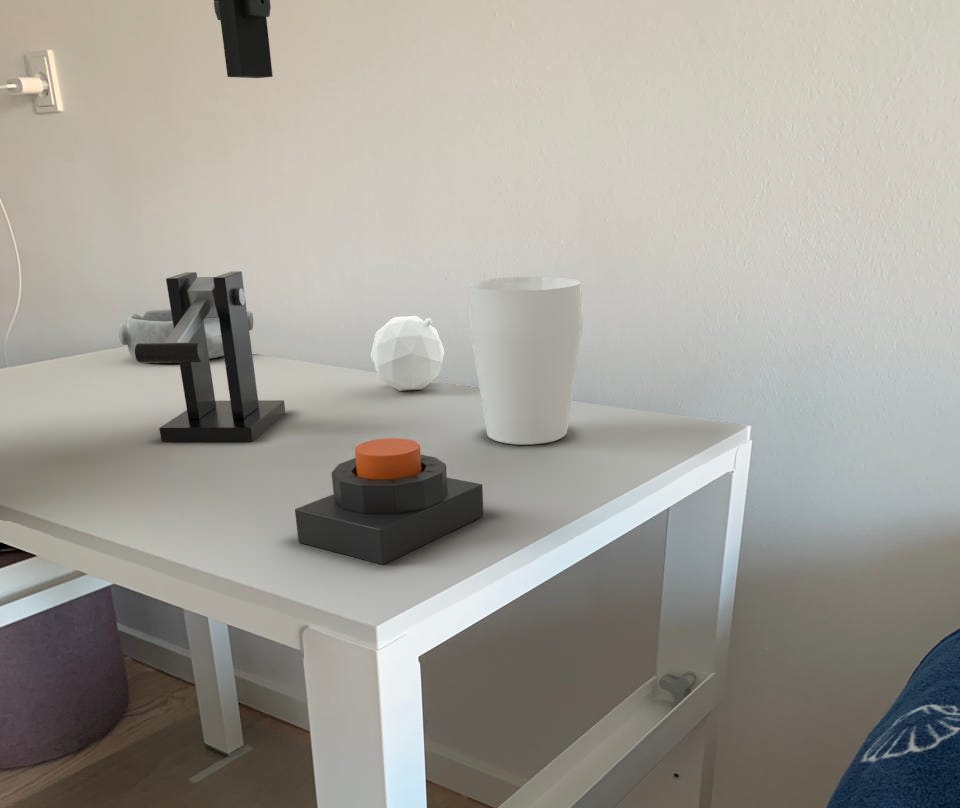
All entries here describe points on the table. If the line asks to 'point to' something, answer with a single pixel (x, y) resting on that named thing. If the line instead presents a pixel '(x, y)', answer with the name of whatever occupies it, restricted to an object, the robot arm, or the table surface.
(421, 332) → the ornament
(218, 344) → the dish
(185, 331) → the switch
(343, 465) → the block
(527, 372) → the cup
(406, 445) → the button
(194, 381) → the switch bracket
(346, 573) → the table surface
